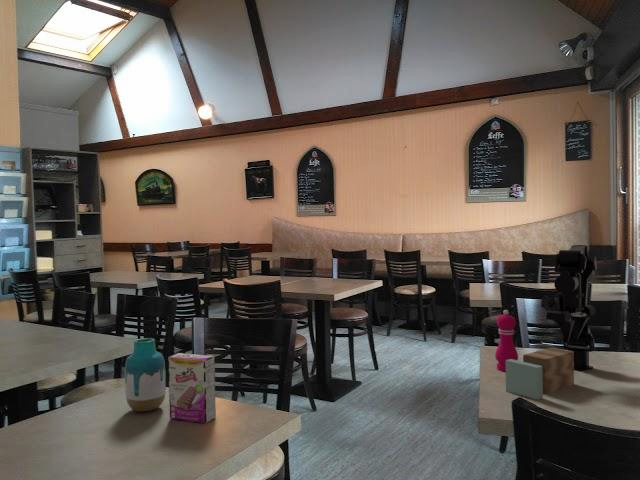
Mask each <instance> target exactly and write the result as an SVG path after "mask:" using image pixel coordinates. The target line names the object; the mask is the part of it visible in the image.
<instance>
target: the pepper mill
mask: <svg viewBox="0 0 640 480" xmlns="http://www.w3.org/2000/svg"><path fill="white" fill-rule="evenodd" d="M496 324H497V327H498V334H499V344H498V346H497V348H496V350H495V354H494V357H495V359H496V361H497V362H496V370H498V371H500V372H505V373H506V360H509V359H513V360H517V361H519V354H518V351H517V349H516V346H515V344H514V339H513V338H514V334H515V329H514V328H515V327H516V326H517V325H516V324H517V323H516V319H515V317H514V316H513V315H510V311H509V310H508V309H504V310H503V314H501V315H500V314H499V316H498V317H497V319H496Z"/></svg>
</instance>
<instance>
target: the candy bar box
mask: <svg viewBox="0 0 640 480" xmlns="http://www.w3.org/2000/svg"><path fill="white" fill-rule="evenodd" d="M167 359H168V363H167V364H168V390H169V391H168V394H169V395H168V397H169V401H168V402H169V419H170V420H174V419H176V420H175V421H181V422H182V421H183V422H189V421H190V422H191V423H197V422H198V423H199V424H209V423H210V422H212V420H214V419H215V418H216V417H217V415H216V413H217V411H216V406H217V405H216V377H215V376H216V375H215V374H216V372H215V371H216V369H215V368H216V367H215V365H216V364H215V356H214V355H209V354H208V355H207V354H206V355H205V354H193V353H184V352H183V353H182V352H178V353H175V354H172V355H170V356H168V358H167ZM209 421H210V422H209Z"/></svg>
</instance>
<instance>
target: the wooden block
mask: <svg viewBox="0 0 640 480" xmlns="http://www.w3.org/2000/svg"><path fill="white" fill-rule="evenodd" d="M522 357H523V358H522V362H526V363H531V364H535V365H540V366H542V380H543V393H544V394H543V395H548V394H550V393H553V392H555V391H558V389H559V390H562V389H564V388H567V387H570V386H572V385H574V384H575V369H574V351H568V349H564V348H557V347H548V348H544V349H540V350H537V351H532V352H530V353H525V354H523V355H522Z"/></svg>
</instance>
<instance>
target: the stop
mask: <svg viewBox="0 0 640 480" xmlns="http://www.w3.org/2000/svg"><path fill="white" fill-rule="evenodd" d="M505 392H508V393H512V394H515V395H518V396H521V395H524V396H523V397H525V396H527V397H526V398H528V397H529V399H532V398H534V399H533V400H535V399H537V400H536V401H539V400H542V399H543V398H544V397H543V395H544V394H543V380H542V366H540V365H535V364H531V363H526V362H523V360H522V361H521V360H513V359H509V360H506V372H505ZM541 398H542V399H541ZM538 399H539V400H538Z"/></svg>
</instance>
